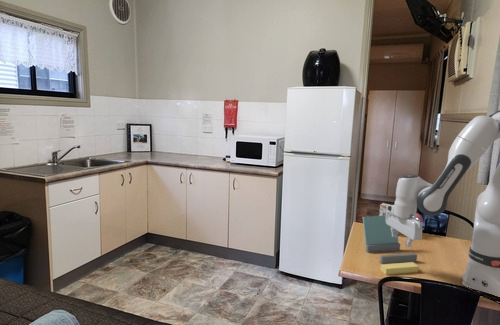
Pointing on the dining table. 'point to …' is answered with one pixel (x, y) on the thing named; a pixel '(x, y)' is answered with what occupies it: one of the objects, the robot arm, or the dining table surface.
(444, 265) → the dining table surface
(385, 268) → the pale yellow strip
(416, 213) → the light bulb
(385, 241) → the panel
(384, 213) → the candy bar box
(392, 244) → the pair of grey bars
